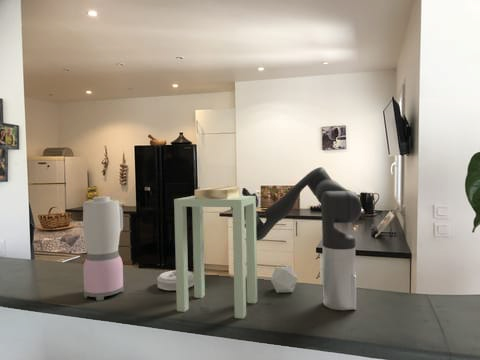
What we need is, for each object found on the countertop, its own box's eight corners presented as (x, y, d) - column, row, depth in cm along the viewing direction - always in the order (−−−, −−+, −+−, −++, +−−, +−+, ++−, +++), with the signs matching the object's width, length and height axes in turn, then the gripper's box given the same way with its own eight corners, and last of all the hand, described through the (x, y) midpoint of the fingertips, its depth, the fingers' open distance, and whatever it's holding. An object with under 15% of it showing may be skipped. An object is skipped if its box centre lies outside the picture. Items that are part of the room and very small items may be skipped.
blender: (103, 303, 112) (100, 198, 111) (74, 298, 117) (71, 198, 116) (138, 287, 127) (135, 195, 126) (111, 283, 132) (108, 194, 131)
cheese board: (248, 193, 121) (248, 186, 121) (227, 198, 102) (227, 189, 102) (220, 193, 124) (220, 186, 124) (194, 198, 105) (194, 189, 105)
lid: (199, 289, 124) (198, 274, 124) (162, 295, 119) (161, 280, 119) (188, 279, 136) (188, 266, 136) (154, 284, 130) (153, 270, 130)
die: (290, 299, 114) (304, 272, 117) (266, 284, 116) (280, 258, 118) (287, 299, 122) (300, 274, 125) (264, 286, 123) (278, 261, 126)
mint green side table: (257, 300, 112) (255, 195, 111) (243, 318, 99) (241, 199, 98) (197, 294, 118) (195, 195, 117) (176, 310, 105) (174, 199, 104)
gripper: (262, 220, 130) (250, 200, 117) (224, 219, 135) (208, 200, 121) (264, 201, 134) (253, 180, 120) (227, 201, 138) (213, 180, 125)
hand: (231, 190), depth 121 cm, fingers open, 8 cm apart
